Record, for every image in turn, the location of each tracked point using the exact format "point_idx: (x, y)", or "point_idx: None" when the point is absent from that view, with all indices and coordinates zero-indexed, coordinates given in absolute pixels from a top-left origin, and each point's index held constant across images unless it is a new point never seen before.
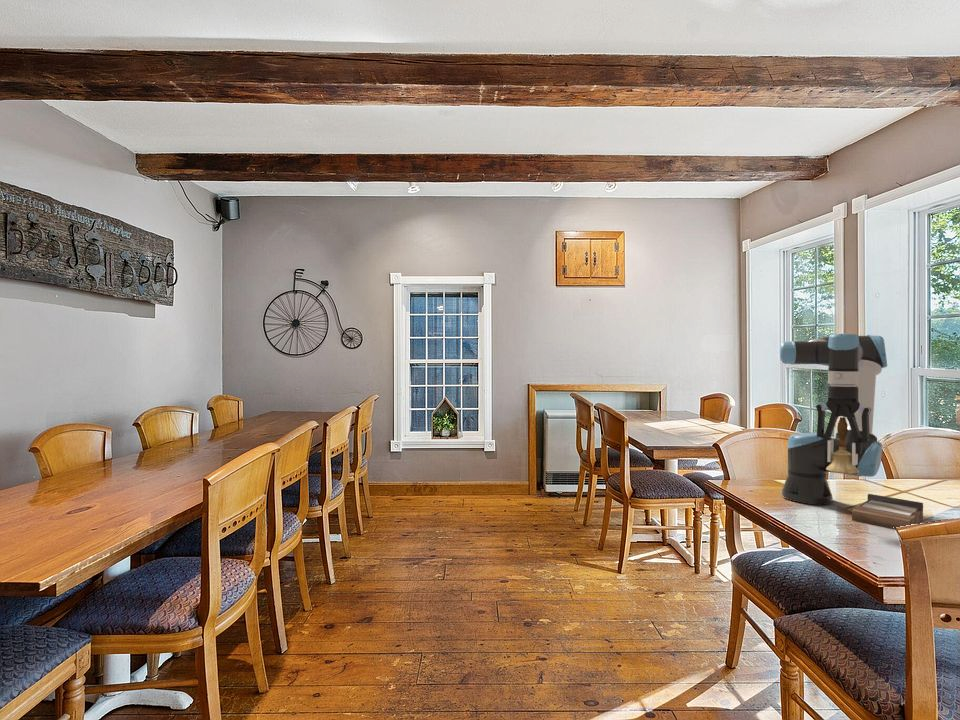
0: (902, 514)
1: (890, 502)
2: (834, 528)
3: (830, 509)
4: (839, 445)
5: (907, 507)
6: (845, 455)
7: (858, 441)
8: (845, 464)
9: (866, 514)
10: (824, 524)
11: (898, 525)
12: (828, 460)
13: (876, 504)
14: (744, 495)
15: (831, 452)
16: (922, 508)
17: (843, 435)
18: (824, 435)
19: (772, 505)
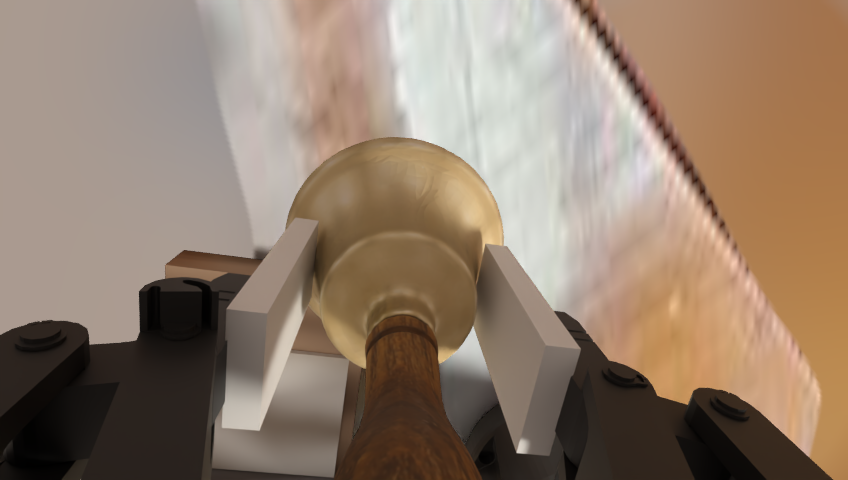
0: None
1: (267, 476)
2: (412, 103)
3: (457, 371)
4: (431, 337)
5: None
6: (362, 239)
7: (161, 316)
8: (364, 199)
9: None
10: (452, 138)
11: (213, 260)
12: (502, 248)
13: (306, 425)
14: (755, 363)
15: (496, 308)
16: None
17: (383, 418)
18: (655, 403)
19: (651, 288)
